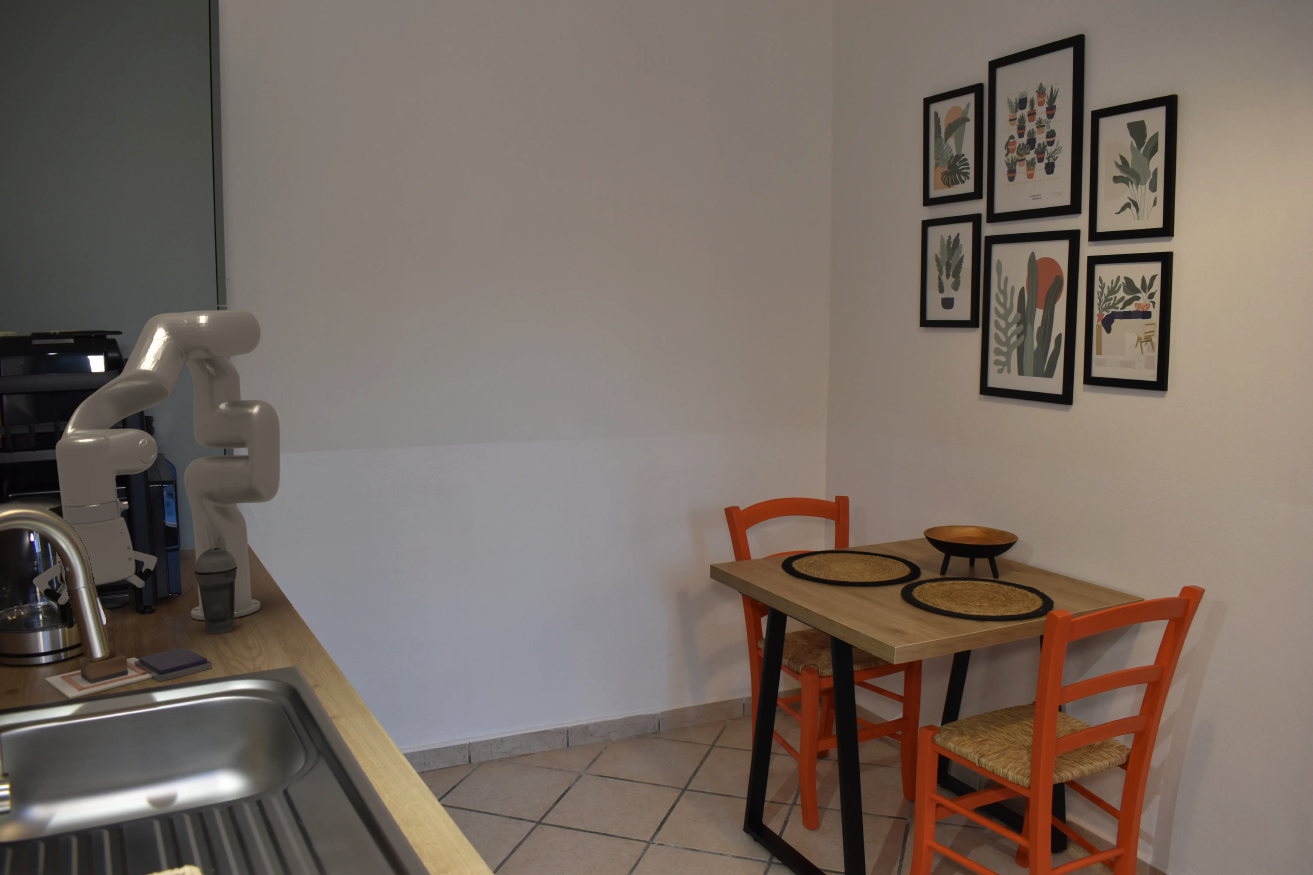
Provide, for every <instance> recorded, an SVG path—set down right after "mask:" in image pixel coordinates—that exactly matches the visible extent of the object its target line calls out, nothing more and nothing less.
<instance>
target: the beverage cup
mask: <svg viewBox="0 0 1313 875" xmlns="http://www.w3.org/2000/svg"><path fill="white" fill-rule="evenodd" d="M206 526H207V532H208V538H209V544H210V549H208V550H206V551H205V552H203V553H202V554H201V555H200V556H199V558H198V560H197V562H196V561H195V568H194V575H195V579H196V583H197V585H198V584H199V590H200V595H201V601H202V607H203V613H204V619H205V620H204V624H205V627H206V633H207V634H210V635H216V634H217V635H218V634H219V635H220V634H224V633H228V632H231V631H233V630H234V625H235V624H234V623H235V618H234V603H235V579H236V569H237V565H236V562H235V559H234V557H233V555H232V554H231V553H230V552H228V551H227V550H225V549H222V548H213V543H212V537H211V531H210V525H206Z"/></svg>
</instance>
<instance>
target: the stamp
mask: <svg viewBox="0 0 1313 875" xmlns="http://www.w3.org/2000/svg"><path fill="white" fill-rule="evenodd" d="M101 608H102V609H103V611H104V614H105V617H106V630H107V634H108V641H109V648H110V652H109V656H108V657H107V658H105V659H102V660H99V661H92V660H89V659H87V658H86V657H87V656H85V657H84V656H83V657H80V658H79V664H80V665H79V667H80V670H81V677H82V678H84V679H85V680H87V681H88V682H90V683H91V684H93V683H97V682H101V681H105V680H109V679H113V678H117V677H121V676H125V675H128V668H127V659H128V658H127V656H126V655H125V654H123V653H121V652H120V651H118V650H116V647H115V633H114V632H115V631H114V624H115V615H114V613H113V612H112V611H111V610H110V609H108V608H106V607H105V608H104V607H101Z"/></svg>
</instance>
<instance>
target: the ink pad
mask: <svg viewBox="0 0 1313 875" xmlns="http://www.w3.org/2000/svg"><path fill="white" fill-rule="evenodd" d="M138 660H139V661H135V666H136V667H138V668H140V669H141V670H143V671H145V672H147V673H148V674H150V675H152V677H153V678H152V679H154V680H155V681H157V682H159V683H161V682H164V681H168V680H172V679H177V678H181V677H183V676H188V675H191V674H196V673H199V672H202V671H203V672H204V671H208V670H210V669H211V670H212V669H213V664H212V662H211V661H210V660H208V659H207V658H206V657H205V656H202V655H199V654H197V653H196V652H194V651H192V650H190V649H188V648H186V647H183V646H182V647H179V648H174V649H169V650H166V651H162V652H161V651H160V652H158V653H153V654H149V655H145V656H141V657H140V656H139V657H138Z"/></svg>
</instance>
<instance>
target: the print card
mask: <svg viewBox="0 0 1313 875" xmlns="http://www.w3.org/2000/svg"><path fill="white" fill-rule="evenodd" d="M135 661H139V658H136V657H130V658H127V668H128V675H125V676H121V677H117V678H113V679H109V680H105V681H101V682H97V683H93V684H91V683H90V682H88V681H87V680H85V679H84V678H82V677H81V669H80V670H79V669H77V670H75V671H71V672H66V673H62V674H58V675H54V676H50V677H45V678H44V679H45V681H46V682H47V683H49V684H50V685H51V687H54V688H55V689H56V690H57V691H59V692H60V693H62V694H63V695H64V696H65V697H67V698H68V699H75V698H78V697H83V696H86V695H90V694H95V693H98V692H102V691H105V690H106V691H107V690H110V689H115V688H118V687H121V686H125V685H129V684H134V683H138V682H141V681H145V680H149V679H154V678H153V677H152V675H150V674H148V673H147V672H145V671H143V670H141V669H140V668H138V667H136V666H135Z"/></svg>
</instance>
